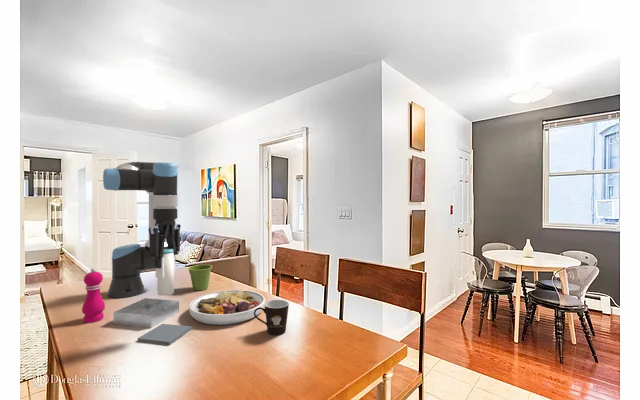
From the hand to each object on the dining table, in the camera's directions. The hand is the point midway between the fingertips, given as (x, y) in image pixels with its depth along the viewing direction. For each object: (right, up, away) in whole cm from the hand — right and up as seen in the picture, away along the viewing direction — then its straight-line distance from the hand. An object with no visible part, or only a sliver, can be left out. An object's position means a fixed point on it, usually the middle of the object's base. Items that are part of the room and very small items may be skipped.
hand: (165, 275), depth 108 cm
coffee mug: (+36, -21, +5) cm, 42 cm away
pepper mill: (-34, -21, +13) cm, 42 cm away
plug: (0, -6, 0) cm, 6 cm away
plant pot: (-8, -20, +53) cm, 57 cm away
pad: (0, -21, 0) cm, 21 cm away
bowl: (+15, -21, +22) cm, 34 cm away
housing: (-14, -20, +15) cm, 29 cm away
